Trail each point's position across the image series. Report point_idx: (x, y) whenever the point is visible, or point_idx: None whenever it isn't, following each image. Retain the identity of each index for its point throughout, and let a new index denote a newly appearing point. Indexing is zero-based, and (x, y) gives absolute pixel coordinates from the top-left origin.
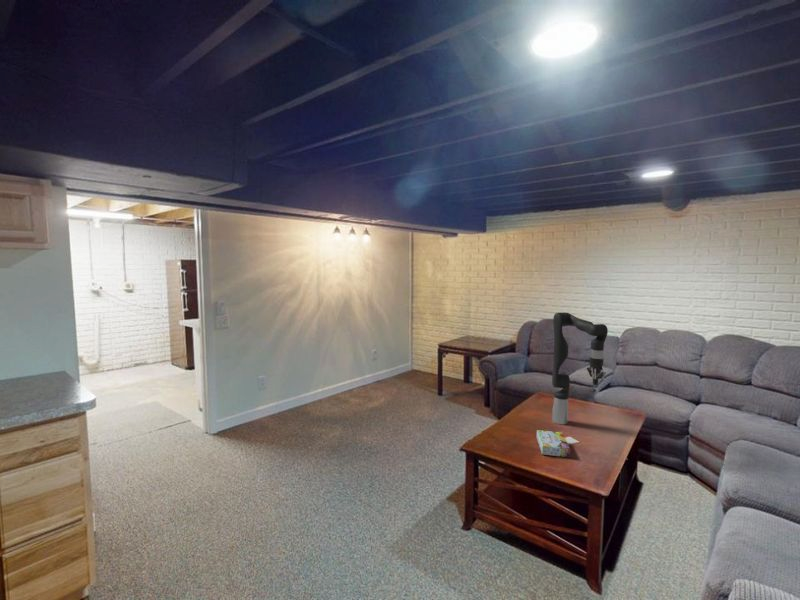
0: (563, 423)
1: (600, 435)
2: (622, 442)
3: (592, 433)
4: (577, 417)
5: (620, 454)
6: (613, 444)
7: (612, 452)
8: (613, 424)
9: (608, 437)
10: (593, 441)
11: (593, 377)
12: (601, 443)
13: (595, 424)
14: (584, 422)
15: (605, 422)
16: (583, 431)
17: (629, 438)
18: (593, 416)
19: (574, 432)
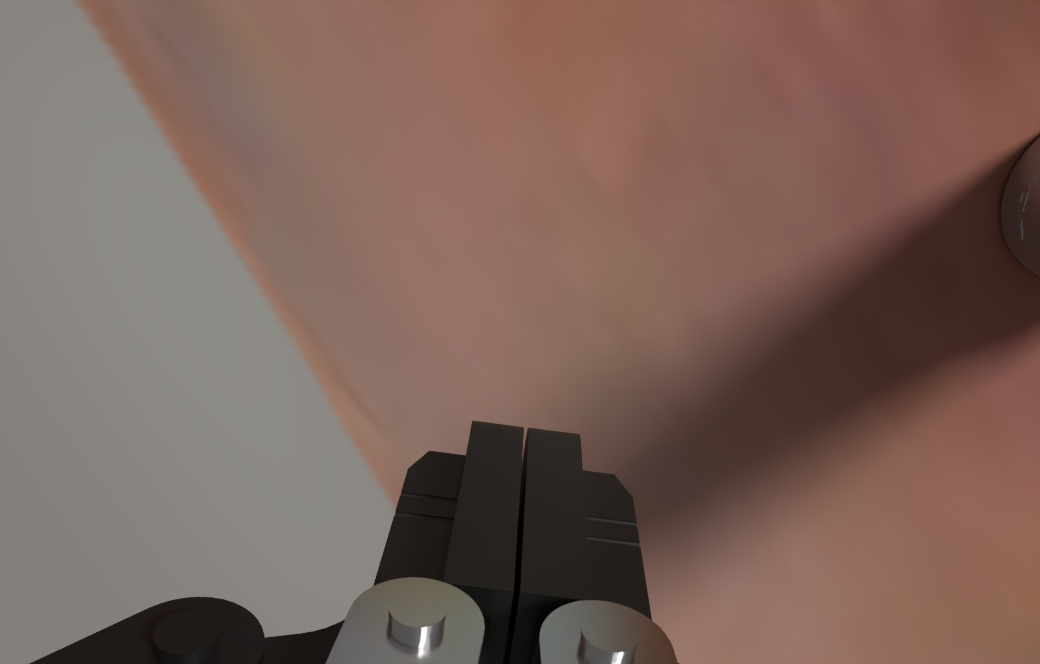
0: (1022, 166)
1: (568, 295)
2: (341, 344)
3: (649, 262)
4: (1033, 498)
5: (116, 47)
6: (339, 213)
7: (183, 7)
8: (691, 646)
9: (492, 326)
10: (488, 71)
11: (570, 654)
12: (410, 110)
13: (792, 500)
14: (897, 446)
15: (767, 625)
16: (741, 216)
17: (385, 488)
18: (937, 656)
19: (781, 86)
